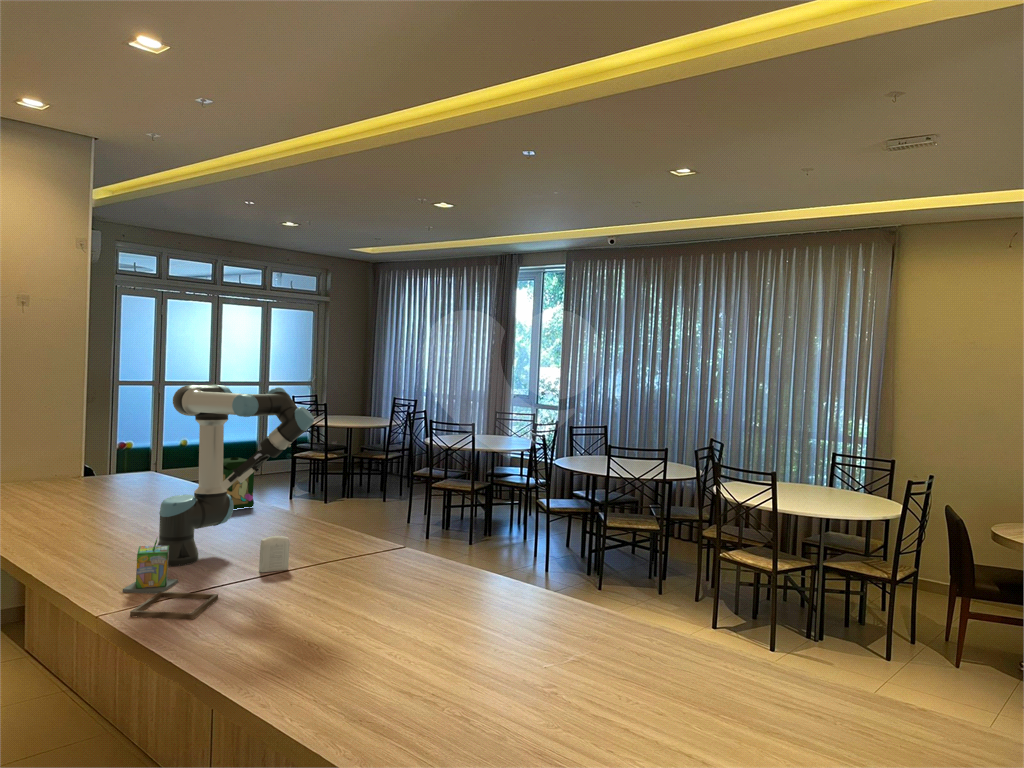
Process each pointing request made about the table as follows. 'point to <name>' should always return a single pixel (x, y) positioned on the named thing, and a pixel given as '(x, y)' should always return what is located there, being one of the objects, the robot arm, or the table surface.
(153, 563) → the chalk box
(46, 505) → the table surface
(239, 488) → the container
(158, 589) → the mat
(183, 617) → the holder frame
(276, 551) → the white tombstone
